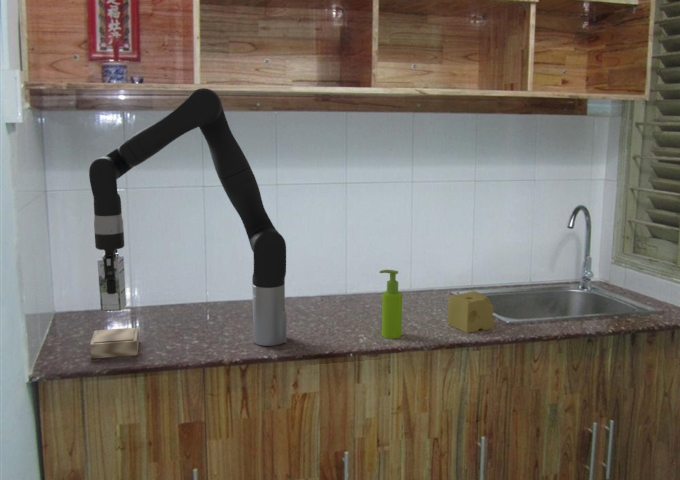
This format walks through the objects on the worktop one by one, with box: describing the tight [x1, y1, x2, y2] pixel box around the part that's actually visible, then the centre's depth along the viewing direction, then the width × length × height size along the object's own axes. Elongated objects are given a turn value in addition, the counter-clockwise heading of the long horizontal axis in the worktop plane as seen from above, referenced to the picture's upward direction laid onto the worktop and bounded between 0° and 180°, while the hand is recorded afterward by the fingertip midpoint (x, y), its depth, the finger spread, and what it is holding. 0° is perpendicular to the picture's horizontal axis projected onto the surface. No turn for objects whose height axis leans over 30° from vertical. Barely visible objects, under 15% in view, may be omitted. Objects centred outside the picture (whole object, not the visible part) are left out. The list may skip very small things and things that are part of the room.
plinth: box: [89, 327, 140, 360], centre depth 189 cm, size 12×12×4 cm
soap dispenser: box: [379, 269, 403, 340], centre depth 201 cm, size 6×7×20 cm
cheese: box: [447, 290, 495, 334], centre depth 210 cm, size 10×11×10 cm
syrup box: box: [96, 255, 128, 312], centre depth 185 cm, size 6×6×14 cm
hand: (112, 290), depth 186 cm, fingers closed on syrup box, 6 cm apart
